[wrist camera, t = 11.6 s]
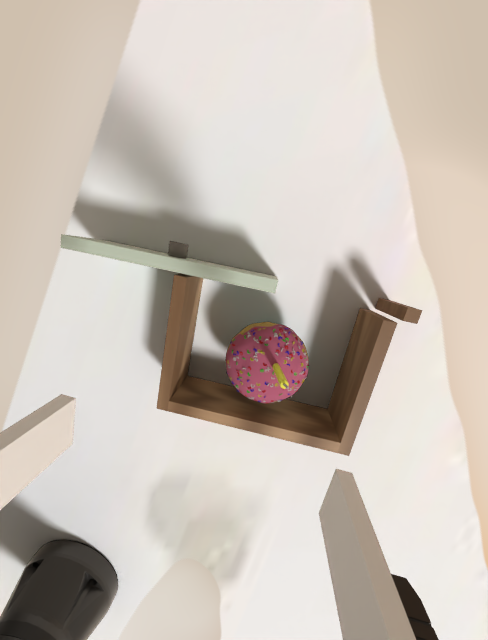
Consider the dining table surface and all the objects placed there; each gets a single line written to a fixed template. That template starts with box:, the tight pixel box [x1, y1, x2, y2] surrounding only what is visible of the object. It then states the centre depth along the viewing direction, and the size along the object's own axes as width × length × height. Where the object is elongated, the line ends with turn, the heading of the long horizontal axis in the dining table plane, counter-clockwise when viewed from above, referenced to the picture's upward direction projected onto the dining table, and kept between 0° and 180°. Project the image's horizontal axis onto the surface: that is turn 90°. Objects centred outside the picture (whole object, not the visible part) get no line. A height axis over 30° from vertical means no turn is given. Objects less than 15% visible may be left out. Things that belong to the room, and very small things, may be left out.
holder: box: [157, 274, 422, 456], centre depth 27 cm, size 22×16×6 cm
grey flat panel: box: [61, 235, 278, 293], centre depth 25 cm, size 20×3×6 cm, turn 78°
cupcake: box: [225, 322, 309, 403], centre depth 24 cm, size 9×8×12 cm
